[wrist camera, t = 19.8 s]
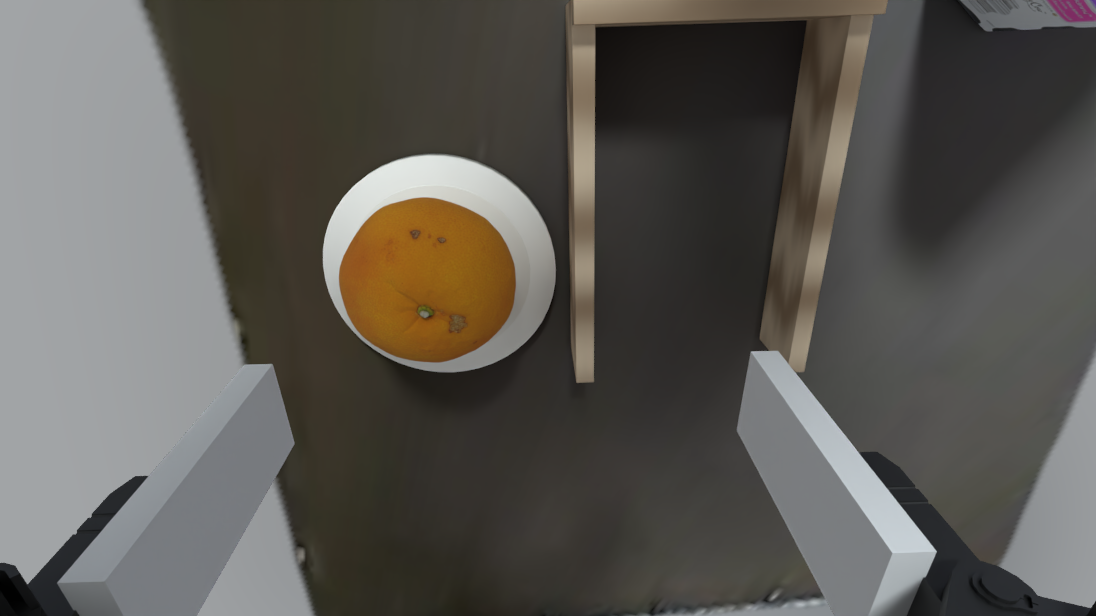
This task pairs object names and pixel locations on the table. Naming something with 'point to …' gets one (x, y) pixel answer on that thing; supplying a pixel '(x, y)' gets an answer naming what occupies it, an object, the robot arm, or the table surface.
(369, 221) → the fruit
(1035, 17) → the candy box
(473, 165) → the plate
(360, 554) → the table surface
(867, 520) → the robot arm
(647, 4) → the oak open frame
